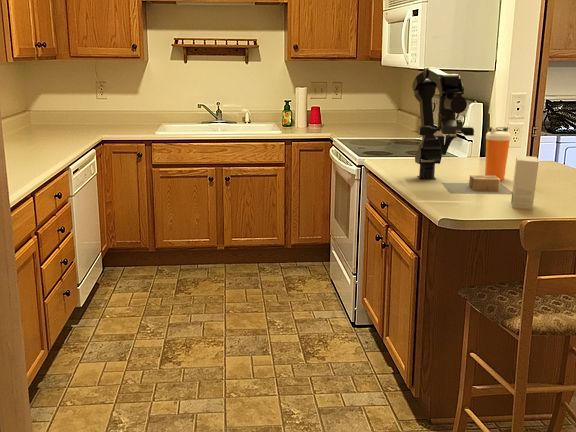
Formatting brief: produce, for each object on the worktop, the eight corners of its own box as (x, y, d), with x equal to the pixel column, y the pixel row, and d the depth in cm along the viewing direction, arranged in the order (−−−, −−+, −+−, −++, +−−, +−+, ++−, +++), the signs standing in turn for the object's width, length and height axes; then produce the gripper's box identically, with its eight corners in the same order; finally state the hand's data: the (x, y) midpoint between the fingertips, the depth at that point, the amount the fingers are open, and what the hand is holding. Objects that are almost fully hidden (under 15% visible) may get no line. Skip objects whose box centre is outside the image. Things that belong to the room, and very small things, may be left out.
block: (469, 175, 232) (495, 175, 232) (469, 186, 233) (494, 186, 233) (474, 179, 225) (500, 179, 225) (473, 190, 226) (499, 190, 226)
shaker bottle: (510, 181, 244) (515, 128, 239) (488, 182, 243) (493, 129, 238) (499, 177, 253) (504, 125, 248) (478, 177, 251) (482, 126, 246)
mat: (441, 183, 239) (441, 182, 239) (501, 184, 238) (501, 183, 238) (450, 194, 222) (450, 193, 222) (515, 195, 221) (515, 194, 220)
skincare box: (510, 202, 211) (515, 155, 207) (532, 204, 209) (537, 156, 205) (511, 208, 203) (516, 159, 199) (534, 210, 201) (539, 160, 197)
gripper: (423, 112, 218) (420, 158, 222) (479, 113, 217) (475, 159, 221) (418, 109, 229) (416, 153, 233) (472, 110, 228) (468, 153, 232)
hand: (443, 154), depth 229 cm, fingers closed
